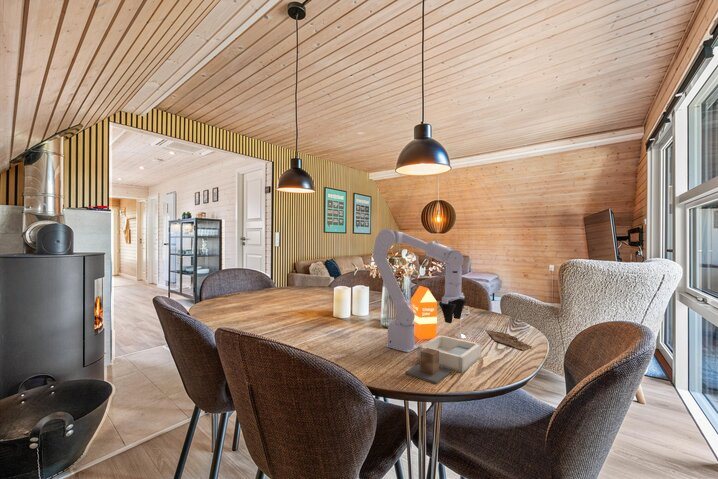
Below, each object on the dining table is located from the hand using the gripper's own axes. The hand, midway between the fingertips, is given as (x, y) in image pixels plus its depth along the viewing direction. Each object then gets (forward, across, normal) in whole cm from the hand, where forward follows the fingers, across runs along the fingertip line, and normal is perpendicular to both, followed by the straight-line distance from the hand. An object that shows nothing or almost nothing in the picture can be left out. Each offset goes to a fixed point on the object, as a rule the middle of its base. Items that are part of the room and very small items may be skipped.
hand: (452, 320), depth 114 cm
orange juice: (+11, +8, +16) cm, 21 cm away
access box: (+10, -9, -3) cm, 14 cm away
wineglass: (+11, +18, +4) cm, 21 cm away
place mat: (+10, -24, -3) cm, 26 cm away
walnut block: (+10, -24, -3) cm, 26 cm away
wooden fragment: (+11, +25, -11) cm, 29 cm away
